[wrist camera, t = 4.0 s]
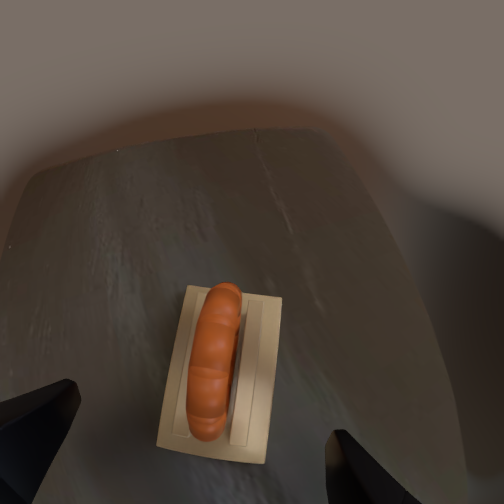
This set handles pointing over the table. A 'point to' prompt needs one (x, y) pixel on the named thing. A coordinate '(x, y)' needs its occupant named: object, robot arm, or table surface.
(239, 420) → the stand
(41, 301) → the table surface
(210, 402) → the ring
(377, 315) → the table surface
